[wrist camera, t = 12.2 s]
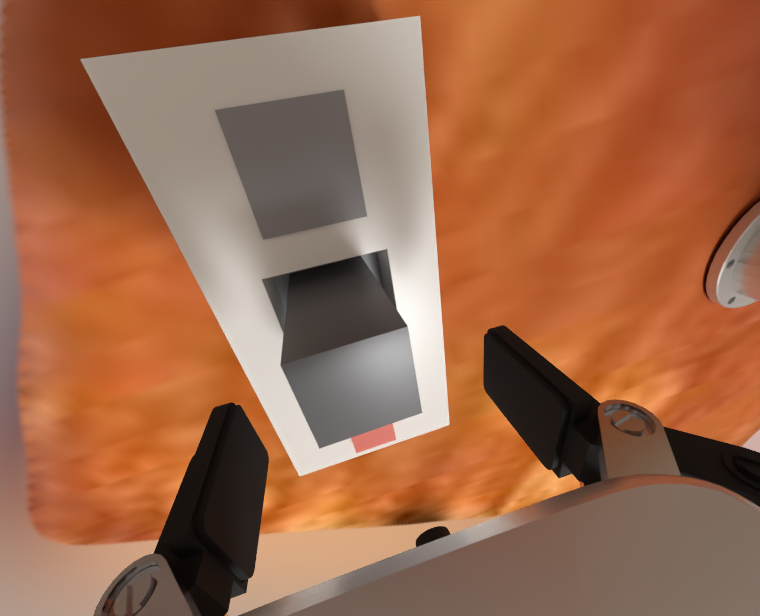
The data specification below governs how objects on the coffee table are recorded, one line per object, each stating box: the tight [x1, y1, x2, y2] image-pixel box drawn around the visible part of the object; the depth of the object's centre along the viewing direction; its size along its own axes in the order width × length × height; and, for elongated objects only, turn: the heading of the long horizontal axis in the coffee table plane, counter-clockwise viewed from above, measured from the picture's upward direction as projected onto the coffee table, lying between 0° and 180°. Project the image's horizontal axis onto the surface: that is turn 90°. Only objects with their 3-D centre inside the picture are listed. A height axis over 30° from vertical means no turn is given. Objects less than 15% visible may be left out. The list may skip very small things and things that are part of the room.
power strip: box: [80, 16, 449, 476], centre depth 17 cm, size 12×24×5 cm, turn 10°
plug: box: [280, 256, 422, 449], centre depth 15 cm, size 4×4×9 cm
